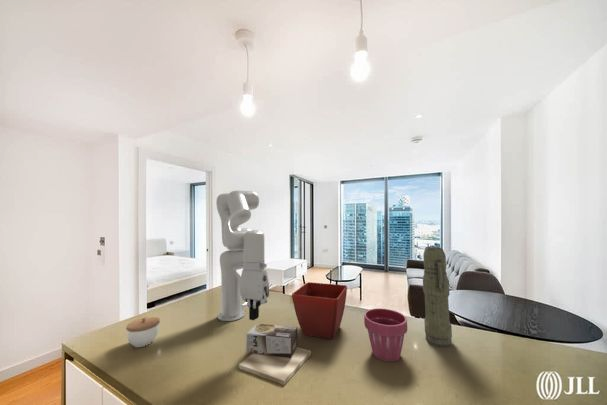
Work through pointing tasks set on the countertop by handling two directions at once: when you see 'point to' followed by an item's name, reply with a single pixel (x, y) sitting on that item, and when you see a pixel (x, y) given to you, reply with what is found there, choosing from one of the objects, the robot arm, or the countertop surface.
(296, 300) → the plant pot
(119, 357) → the countertop surface
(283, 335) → the coffee box
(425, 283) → the moai statue figurine
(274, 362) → the birch board
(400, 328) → the plant pot
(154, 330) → the lidded jar
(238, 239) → the robot arm
